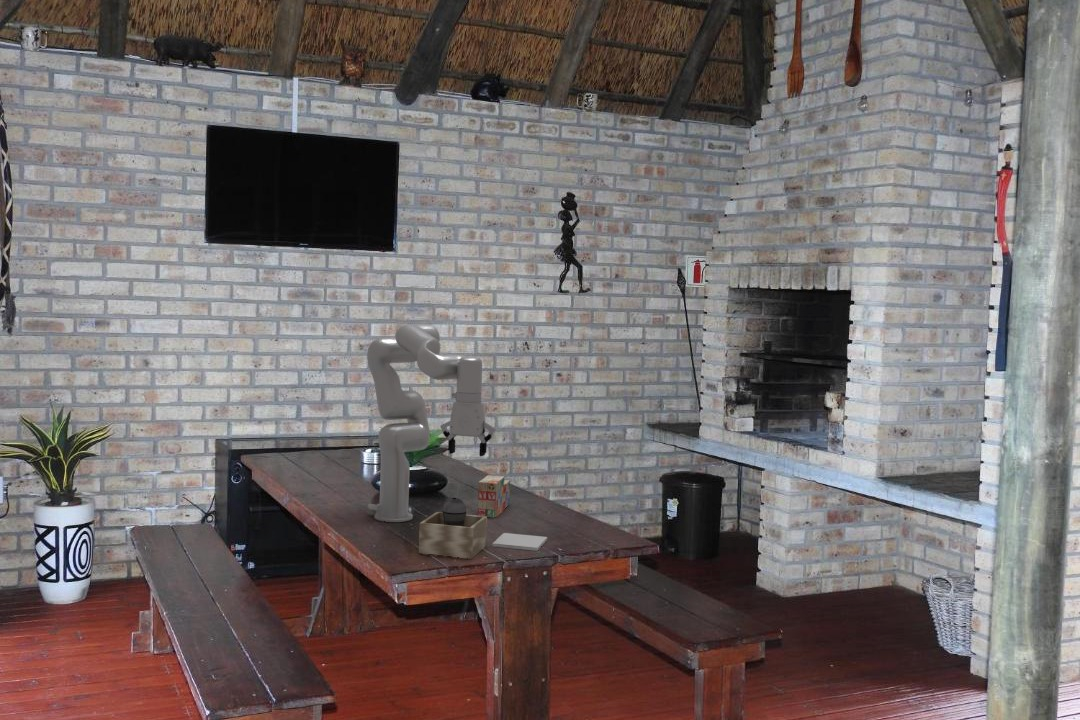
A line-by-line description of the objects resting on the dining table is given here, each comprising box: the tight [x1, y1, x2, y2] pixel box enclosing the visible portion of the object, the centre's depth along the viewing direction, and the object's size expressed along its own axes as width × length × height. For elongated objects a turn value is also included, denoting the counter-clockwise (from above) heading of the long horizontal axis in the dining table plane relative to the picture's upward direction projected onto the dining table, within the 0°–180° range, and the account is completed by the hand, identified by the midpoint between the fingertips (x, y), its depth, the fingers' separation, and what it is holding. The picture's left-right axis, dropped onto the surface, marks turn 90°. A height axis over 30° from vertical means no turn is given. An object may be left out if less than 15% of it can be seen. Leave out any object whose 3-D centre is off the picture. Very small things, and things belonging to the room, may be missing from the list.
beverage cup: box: [441, 482, 467, 527], centre depth 321 cm, size 7×7×20 cm
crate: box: [418, 511, 488, 560], centre depth 321 cm, size 16×16×9 cm
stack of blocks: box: [477, 474, 511, 519], centre depth 376 cm, size 21×6×12 cm, turn 169°
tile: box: [492, 532, 548, 552], centre depth 333 cm, size 14×14×1 cm
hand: (467, 454), depth 328 cm, fingers open, 9 cm apart
